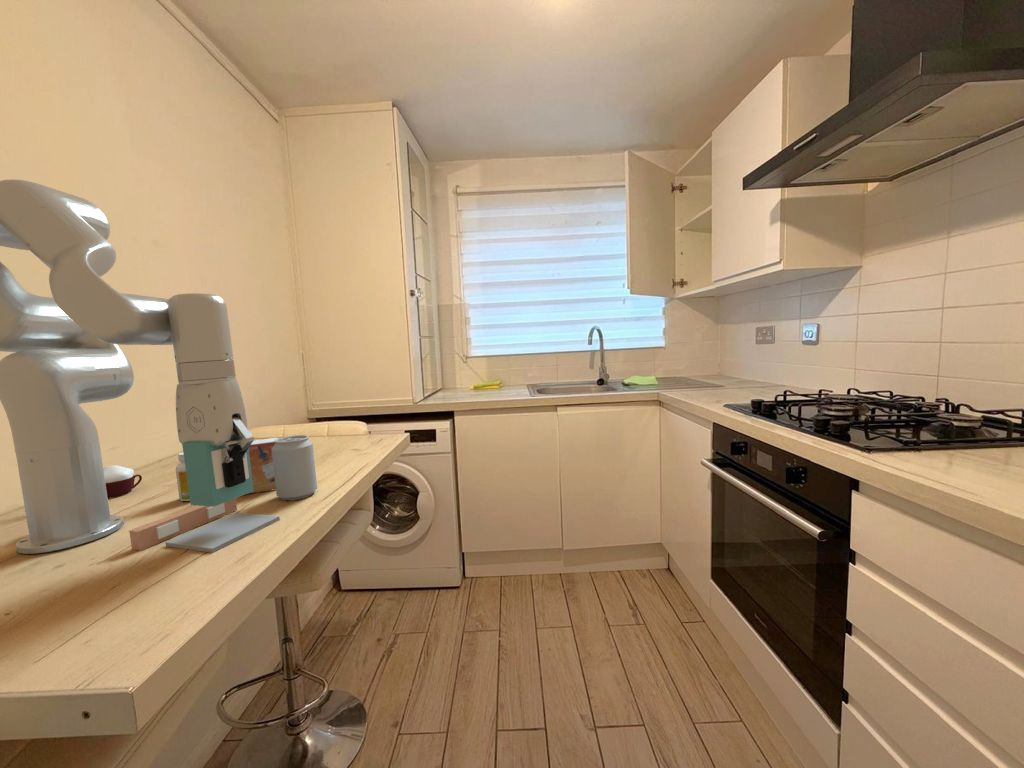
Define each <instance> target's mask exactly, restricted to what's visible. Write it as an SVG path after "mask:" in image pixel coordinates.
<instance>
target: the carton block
mask: <svg viewBox="0 0 1024 768" xmlns="http://www.w3.org/2000/svg"><path fill="white" fill-rule="evenodd" d="M229 441H233V437H231V438H230V440H229ZM229 441H226V442H229ZM181 445H182V452H183V454H184V461H185V468H186V475H187V482H188V489H189V496H190V501H189V502H190V505H191V506H197V505H198V506H212V507H214V506H217V505H219V504H222V503H224V502H227V501H230V500H232V499H235V498H236V499H237V498H239V497H242V496H245V495H248V493H250V492H253V491H254V488H253V480H252V472H251V464H250V456H249V449H248V450H247V451H246V453H245V454H246V456H245V458H243V462H244V470H245V478H246V481H245V482H244V483H241V484H238V485H235V486H233V487H230V488H228V487H225V482H224V475H223V467H222V463H225V460H224V457H223V454H222V452H221V449H220V446H212V445H210V442H183V443H182V444H181ZM233 447H234V446H233V445H231V446H229V449H230V451H231V450H232V449H233ZM250 494H251V493H250Z"/></svg>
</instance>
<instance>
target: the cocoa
mask: <svg viewBox="0 0 1024 768" xmlns="http://www.w3.org/2000/svg"><path fill="white" fill-rule="evenodd" d="M103 470H104V477H105V483H106V490H107V497H108V498H109V497H112V498H117V496H118V497H121V496H125V495H128V494H129V493H130V492H131V491H132V490H133V489H135V488H136V487H137V486H138V485H139V484H140V483H141V482H142V480H143V476H142V475H141V474H135V471H134V469H133V468H130V467H124V466H120V465H108V466H107V465H106V466H105V467H104V466H103ZM134 474H135V475H134ZM136 477H139V479H138V481H137V482H135V478H136ZM124 494H125V495H124Z"/></svg>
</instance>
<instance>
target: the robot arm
mask: <svg viewBox="0 0 1024 768" xmlns="http://www.w3.org/2000/svg"><path fill="white" fill-rule="evenodd" d="M110 233H111V226H110V222H109V219H108V218H107V216H106V214H105V213H104V211H103V210H101V208H99V207H98V206H97V205H96V204H95V203H93V202H92V201H89V200H87V199H85V198H83V197H79V196H76V195H74V194H70V193H68V192H65V191H61V190H59V189H56V188H52V187H49V186H46V185H43V184H40V183H36V182H32V181H28V180H24V179H15V178H14V179H3V180H0V247H4V248H11V249H16V250H20V251H21V250H23V251H30V252H31V253H32V254H33V255H34V256H35V257H37V258H38V259H39V260H40V261H41V262H42V263H43V264H44V265H46V267H48V268H49V269H50V270H49V273H48V274H49V275H48V281H49V283H48V284H49V289H50V292H51V295H52V297H49V296H40V295H36V294H33V293H31V292H29V291H27V290H26V289H25V288H24V287H23V285H21V283H20V282H19V281H18V280H17V278H16V276H15V275H14V274H13V273H12V271H11V270H10V269H9V267H7V266H6V265H5V264H4V263H3V262H2V261H0V352H4V353H5V352H6V353H7V352H8V353H10V354H8V355H6V356H4V357H3V358H1V359H0V403H1V405H2V407H3V409H4V413H5V414H6V417H7V420H8V423H9V426H10V431H11V434H12V440H13V446H14V453H15V456H16V457H15V459H16V462H17V464H16V465H17V469H18V475H19V480H20V486H21V493H22V498H23V504H24V505H23V506H24V510H25V517H26V522H27V528H28V535H27V536H25V537H23V538H21V539H19V540H18V541H17V542H16V543H15V549H16V552H17V553H19V554H24V555H30V554H31V555H33V554H42V553H43V554H44V553H50V552H54V551H60V550H65V549H68V548H73V547H76V546H79V545H83V544H87V543H89V542H93V541H95V540H99V539H101V538H104V537H106V536H108V535H110V534H112V533H114V532H116V531H117V530H119V529H121V528H122V527H123V525H124V518H123V516H120V515H116V514H115V515H114V514H113V515H112V514H111V511H110V505H109V500H108V497H107V490H106V483H105V477H104V470H103V468H104V463H103V457H102V452H101V447H100V444H101V442H100V438H99V432H98V429H97V426H96V424H95V422H94V420H93V419H92V418H91V417H90V416H89V414H88V413H87V412H86V411H85V410H84V409H83V407H82V406H80V404H87V403H94V402H102V401H108V400H114V399H116V398H117V399H118V398H120V397H122V396H123V395H126V394H127V393H128V392H129V391H130V390H131V388H132V386H133V384H134V381H135V380H134V379H135V376H134V370H133V366H132V365H131V362H130V360H129V359H128V357H127V356H126V354H125V352H124V351H123V350H122V349H121V348H120V346H130V345H131V346H134V345H135V346H136V345H137V346H138V345H141V346H145V345H146V346H150V345H151V346H171V345H172V347H173V354H174V359H175V369H176V373H177V374H176V375H177V381H178V383H177V384H176V390H175V417H176V419H175V420H176V429H177V437H178V440H179V443H180V444H181V445H182V443H183V442H210V445H212V446H220V449H221V452H222V454H223V457H224V460H225V463H222V467H223V475H224V482H225V487H228V488H230V487H233V486H235V485H238V484H241V483H244V482H245V481H246V478H245V470H244V462H243V458H245V456H246V454H245V453H246V451H247V450H248V447H249V446H250V445H251V444H252V442H253V441H255V437H254V436H253V434H252V433H251V432H250V430H249V429H248V428H249V427H248V418H247V413H246V408H245V403H244V399H243V394H242V392H241V389H240V384H239V382H238V380H237V376H236V369H235V368H236V367H235V361H234V354H233V345H232V336H231V331H230V321H229V314H228V308H227V303H226V301H225V300H224V298H223V297H221V296H220V295H216V294H211V293H202V292H201V293H198V292H197V293H196V292H195V293H194V292H193V293H180V294H175V295H172V296H171V297H170V298H163V297H155V296H148V295H140V294H131V293H124V292H120V291H118V290H116V289H114V288H113V287H112V286H111V285H109V284H108V283H107V282H106V281H105V280H104V279H103V278H102V277H103V276H104V275H105V274H107V273H108V272H110V271H111V269H112V268H113V267H114V265H115V263H116V260H117V253H116V250H115V248H114V247H115V246H113V245H112V243H111V242H110V241H108V239H109V237H110ZM231 437H233V441H229V440H230V438H231ZM226 441H229V442H226ZM231 445H233V446H234V447H233V449H232V450H231V451H230V449H229V446H231Z"/></svg>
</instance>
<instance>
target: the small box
mask: <svg viewBox="0 0 1024 768" xmlns="http://www.w3.org/2000/svg"><path fill="white" fill-rule="evenodd" d="M277 439H279V438H278V436H277V437H271V438H265V439H263V438H262V439H257V440H255V439H254V441H253V442H252V444H251V445H250V446H249V447H248V449H249V456H250V464H251V472H252V480H253V488H254V491H253V492H250V494H255V492H256V493H262V492H267V490H269V491H273V490H272V489H276V486H275V477H274V468H273V459H272V450H271V449H272V447H273V446H274V445H275V442H274V441H275V440H277ZM261 491H262V492H261ZM248 494H249V493H248ZM248 494H247V495H248Z"/></svg>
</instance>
